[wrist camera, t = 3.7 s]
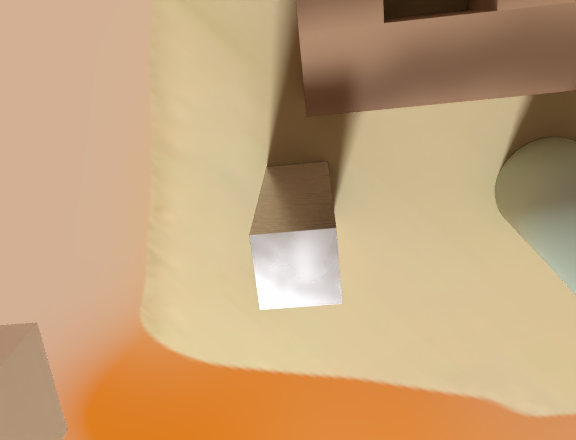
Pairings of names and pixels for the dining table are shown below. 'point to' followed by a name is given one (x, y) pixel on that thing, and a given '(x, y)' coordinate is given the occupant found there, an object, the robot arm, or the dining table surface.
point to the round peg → (543, 201)
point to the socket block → (433, 53)
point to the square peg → (296, 238)
